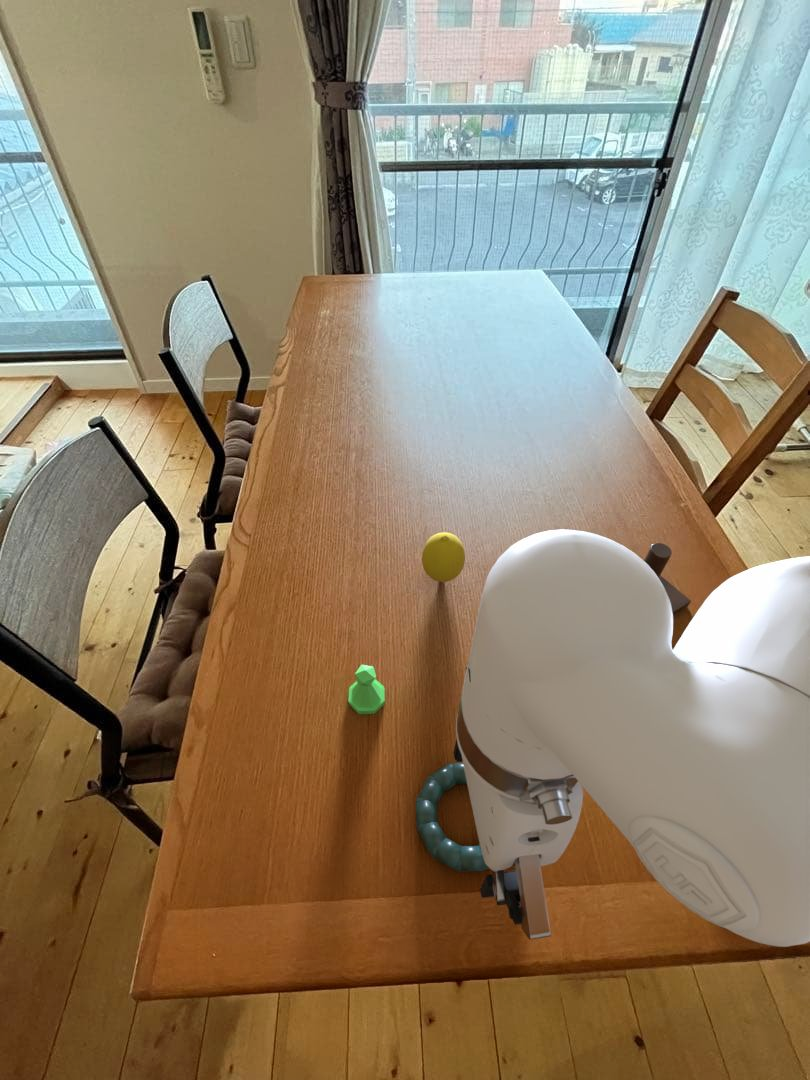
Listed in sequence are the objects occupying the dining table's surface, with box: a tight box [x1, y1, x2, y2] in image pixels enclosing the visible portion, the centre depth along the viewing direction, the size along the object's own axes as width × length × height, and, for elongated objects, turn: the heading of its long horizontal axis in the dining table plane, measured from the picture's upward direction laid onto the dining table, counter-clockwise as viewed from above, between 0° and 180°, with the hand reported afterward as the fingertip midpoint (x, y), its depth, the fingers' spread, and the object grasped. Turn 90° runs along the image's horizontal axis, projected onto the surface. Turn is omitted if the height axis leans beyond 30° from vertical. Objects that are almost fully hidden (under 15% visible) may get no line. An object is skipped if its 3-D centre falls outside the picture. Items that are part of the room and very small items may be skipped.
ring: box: [415, 762, 490, 873], centre depth 53 cm, size 10×10×2 cm
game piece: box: [348, 664, 386, 715], centre depth 60 cm, size 4×4×6 cm
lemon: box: [421, 531, 466, 583], centre depth 71 cm, size 6×6×8 cm
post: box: [643, 542, 692, 616], centre depth 69 cm, size 9×9×9 cm
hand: (486, 817), depth 43 cm, fingers open, 9 cm apart
